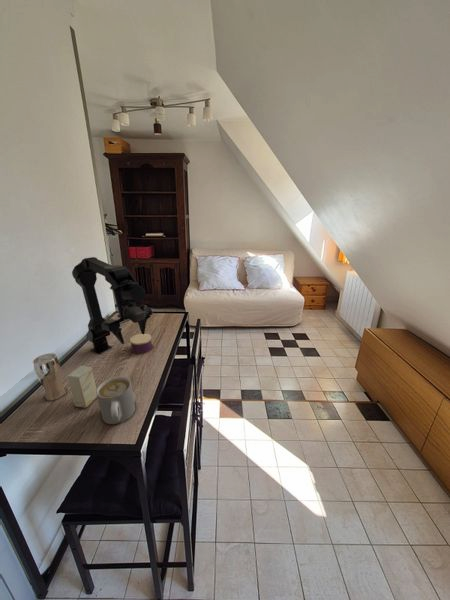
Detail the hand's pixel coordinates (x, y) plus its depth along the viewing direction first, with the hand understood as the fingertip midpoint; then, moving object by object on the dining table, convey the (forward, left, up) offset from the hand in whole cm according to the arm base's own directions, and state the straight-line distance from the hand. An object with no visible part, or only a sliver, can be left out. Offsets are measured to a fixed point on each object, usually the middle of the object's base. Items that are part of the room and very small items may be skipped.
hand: (133, 338), depth 97 cm
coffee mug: (+12, -21, -14) cm, 28 cm away
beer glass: (-16, -24, -14) cm, 32 cm away
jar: (-11, +13, -14) cm, 22 cm away
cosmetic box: (-3, -21, -15) cm, 26 cm away
